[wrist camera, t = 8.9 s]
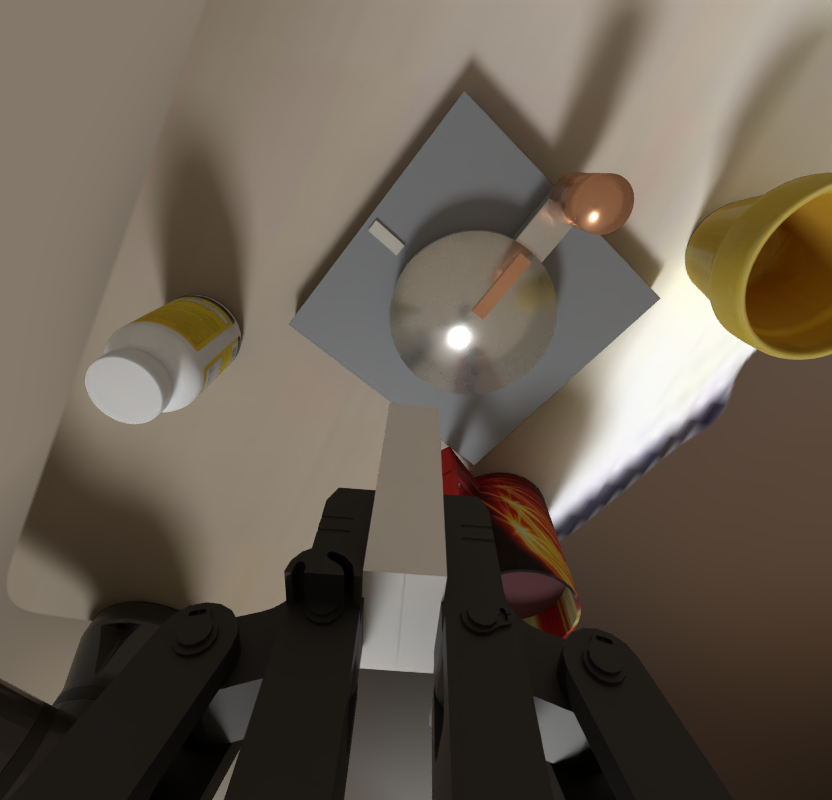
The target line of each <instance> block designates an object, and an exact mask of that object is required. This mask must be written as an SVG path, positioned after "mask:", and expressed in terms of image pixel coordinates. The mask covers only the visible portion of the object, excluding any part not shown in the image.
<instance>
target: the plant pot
mask: <svg viewBox="0 0 832 800" xmlns="http://www.w3.org/2000/svg"><path fill="white" fill-rule="evenodd" d="M685 265H686V270H687V273H688V276H689V278H690V279H691V281H692V282H693V283H694V284H695V285H696V287H697V288H698V289H699V290H700V291H701V292H702V293H703V294H704V295H705V296H706V297H707V298H708V299H709V300H710V302H711V305H712V308H713V311H714V313H715V315H716V317H717V319H718V320H719V322H720V323H721V324H722V326H723V327H724V328H725V329H726V330H727V331H729V332H730V333H731V334H733V335H734V336H736V337H737V338H739V339H740V340H742V341H743V342H745V343H747V344H749V345H750V346H752V347H754V348H756V349H758V350H760V351H762V352H764V353H766V354H769V355H771V356H775V357H779V358H785V359H796V360H798V359H813V358H818V357H823V356H827V355H830V354H832V173H823V174H814V175H809V176H804V177H800V178H797V179H794V180H792V181H789V182H786V183H784V184H782V185H780V186H778V187H776V188H774V189H773V190H771V191H769V192H768V193H766V194H765V195H762V196H758V197H754V198H750V199H745V200H741V201H738V202H734V203H731V204H728V205H726V206H723V207H721V208H719V209H718V210H716V211H714V212H713V213H712V214H710V215H709V216H708V217H707V218H706V219H705V220H704V221H703V222H702V223H701V224H700V225H699V226H698V228H697V229H696V230H695V232H694V233H693V235H692V237H691V239H690V241H689V244H688V246H687V250H686V256H685Z"/></svg>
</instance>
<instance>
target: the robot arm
mask: <svg viewBox="0 0 832 800" xmlns="http://www.w3.org/2000/svg"><path fill="white" fill-rule="evenodd" d="M284 572H285V587H286V601H285V602H284V603H282V604H280V605H278V606H276V607H274V608H272V609H269V610H266V611H262V612H258V613H253V614H249V615H244V616H240V617H235V615H234V613H233V612H232V610H230V609H229V608H227V607H225V606H223V605H222V604H216V603H207V602H206V603H201V604H196V605H191V606H189V607H187V608H185V609H183V610H181V611H179V612H178V611H175V610H173V609H170V608H167V607H164V606H160V605H156V604H151V603H141V602H130V603H121V604H117V605H113V606H111V607H108V608H106V609H104V610H103V611H101V612H100V613H99V614H98V615H97V616H96V617H95V618H94V620H93V621H92V622H91V624H90V625H89V627H88V628H87V629H86V631H85V632H84V634H83V635H82V637H81V639H80V642H79V645H78V648H77V651H76V654H75V657H74V659H73V662H72V665H71V668H70V671H69V674H68V677H67V680H66V682H65V685H64V688H63V690H62V692H61V693H60V695H59V696H58V698H57V699H56V701H55V702H54V704H53V705H52V706H51V705H49V704H47V703H45V702H44V701H42V700H40V699H38V698H37V697H35V696H33V695H31V694H29V693H27V692H25V691H23V690H21V689H19V688H18V687H16V686H14V685H12V684H10V683H8V682H6V681H4V680H2V679H1V678H0V800H212V799H213V797H214V795H215V794H216V792H217V790H218V788H219V786H220V784H221V783H222V781H223V779H224V777H225V775H226V773H227V772H228V770H229V768H230V766H231V764H232V762H233V760H234V759H235V757H236V755H237V753H238V752H239V750H240V752H239V755H238V758H237V761H236V764H235V768H234V771H233V774H232V777H231V780H230V783H229V786H228V789H227V792H226V795H225V798H224V800H344V796H345V788H346V781H347V773H348V765H349V758H350V749H351V742H352V734H353V726H354V719H355V711H356V703H357V690H358V677H359V669H360V668H366V669H379V670H394V671H408V672H422V673H433V669H434V691H433V698H432V704H431V712H430V718H429V724H428V726H432V800H734V799H733V797H732V796H731V794H730V793H729V792H728V790H727V789H726V787H725V785H724V784H723V783H722V781H721V780H720V778H719V777H718V775H717V774H716V772H715V771H714V769H713V768H712V766H711V765H710V763H709V762H708V760H707V759H706V757H705V756H704V754H703V753H702V751H701V750H700V748H699V747H698V746H697V744H696V743H695V741H694V740H693V738H692V737H691V735H690V734H689V732H688V731H687V729H686V728H685V726H684V725H683V723H682V722H681V720H680V719H679V717H678V716H677V714H676V713H675V712H674V710H673V708H672V707H671V706H670V704H669V703H668V701H667V700H666V698H665V697H664V695H663V694H662V692H661V691H660V689H659V688H658V686H657V685H656V683H655V682H654V680H653V679H652V677H651V676H650V674H649V673H648V672H647V670H646V669H645V667H644V666H643V664H642V663H641V661H640V660H639V658H638V657H637V656H636V654H635V653H634V652H633V651H632V650H631V649H630V648H629V647H628V645H627V644H625V643H624V642H622V641H621V640H620V639H618V638H617V637H615V636H614V635H612V634H610V633H607V632H604V631H602V630H599V629H590V628H582V629H579V630H577V631H574V632H572V633H571V634H570V635H569V637H568V638H567V639H563V638H561V637H558V636H555V635H552V634H550V633H547V632H544V631H542V630H539V629H537V628H535V627H533V626H531V625H529V624H528V623H526V622H525V621H524V620H522V619H521V618H520V617H519V616H518V615H517V614H516V613H515V612H514V610H513V608H512V607H511V606H510V605H509V604H508V602H507V600H506V597H505V594H504V589H503V584H502V578H501V573H500V567H499V562H498V556H497V551H496V545H495V543H494V535H493V530H492V524H491V518H490V513H489V510H488V509H487V508H486V506H485V505H484V504H483V502H482V501H481V500H480V498H479V497H473V496H460V495H447V494H443V483H442V463H441V443H440V423H439V407H429V406H416V405H403V404H391V403H390V405H389V412H388V418H387V424H386V430H385V436H384V443H383V449H382V455H381V461H380V468H379V474H378V480H377V486H376V490H363V489H350V488H338V489H337V490H336V491H335V492H334V493H333V494H332V495H331V496H330V497H329V498H328V499H327V501H326V504H325V507H324V510H323V514H322V519H321V520H320V523H319V527H318V532H317V533H316V537H315V540H314V543H313V546H312V548H311V549H309V550H306V551H303V552H301V553H300V554H299V555H297V556H296V557H295V558H293V559H292V560H291V561H290V563H289V565H288V566H287V568H286V569H285V571H284ZM240 748H241V749H240Z"/></svg>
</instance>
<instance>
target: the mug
mask: <svg viewBox="0 0 832 800" xmlns="http://www.w3.org/2000/svg"><path fill="white" fill-rule="evenodd" d="M441 463H442V479H443V494H447V495H460V496H473V497H479V498H480V500H481V501H482V502H483V504H484V505H485V506H486V508H487V509H488V510H489V513H490V518H491V524H492V530H493V535H494V543H495V545H496V551H497V556H498V562H499V567H500V573H501V578H502V584H503V589H504V594H505V597H506V600H507V602H508V604H509V605H510V606H511V607H512V608H513V610H514V612H515V613H516V614H517V615H518V616H519V617H520V618H521V619H522V620H524V621H525V622H526V623H528V624H529V625H531V626H533V627H535V628H537V629H539V630H542V631H544V632H547V633H550V634H552V635H555V636H558V637H561V638H563V639H565V638H566V637H567V636H568V635H569V634H570V633H571V632H572V631H573V630H574V628H575V627H576V625H577V623H578V621H579V618H580V614H581V604H580V601H579V598H578V595H577V592H576V589H575V587H574V584H573V581H572V578H571V575H570V572H569V569H568V567H567V564H566V561H565V558H564V555H563V552H562V549H561V546H560V544H559V541H558V538H557V535H556V532H555V529H554V526H553V524H552V521H551V518H550V515H549V512H548V509H547V507H546V504H545V501H544V498H543V495H542V494H541V492H540V490H539V489H538V488H537V487H536V486H535V485H534V484H533V483H532V482H530V481H529V480H527V479H526V478H523V477H521V476H518V475H515V474H510V473H490V474H485V475H482V476H478V477H476V478H474V477H473V476H472V475H471V473H470V472H469V471H468V470H467V468H466V467H465V466H464V465H463V463H462V462H461V461H460V460H459V458H458V457H457V456H456V455H455V453H454V452H453V450H452V449H451V447H447V448H445V449H443V450H442V451H441ZM458 482H459V483H460V485H461V486H462V487H461V488H460V489H459V487H458Z"/></svg>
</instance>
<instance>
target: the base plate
mask: <svg viewBox="0 0 832 800" xmlns="http://www.w3.org/2000/svg"><path fill="white" fill-rule="evenodd" d="M553 186H554V185H553V184H552V183H551V182H550V181H549V180H548V179H547V178H546V177H545V176H544V175H543V173H542V172H541V171H540V170H539V169H538V168H537V167H536V166H535V165H534V164H533V163H532V162H531V161H530V160H529V159H528V158H527V157H526V155H525V154H524V153H523V152H522V151H521V150H520V149H519V148H518V147H517V146H516V145H515V144H514V143H513V142H512V141H511V140H510V139H509V137H508V136H507V135H506V134H505V133H504V132H503V131H502V130H501V129H500V128H499V127H498V126H497V125H496V124H495V123H494V122H493V121H492V119H491V118H490V117H489V116H488V115H487V114H486V113H485V112H484V111H483V110H482V109H481V108H480V107H479V106H478V105H477V104H476V103H475V101H474V100H473V99H472V98H471V97H470V96H469V95H468V94H467V93H466V92H465V91H464V92H463V93H462V95H461V96H460V97H459V99H458V100H457V101H456V103H455V104H454V105H453V107H452V108H451V109H450V111H449V112H448V113H447V115H446V116H445V117H444V119H443V120H442V121H441V123H440V124H439V125H438V127H437V128H436V129H435V131H434V132H433V133H432V135H431V136H430V137H429V139H428V140H427V141H426V143H425V144H424V145H423V147H422V148H421V149H420V150H419V152H418V153H417V154H416V156H415V157H414V158H413V160H412V161H411V162H410V164H409V165H408V166H407V168H406V169H405V170H404V172H403V173H402V174H401V176H400V177H399V178H398V180H397V181H396V182H395V184H394V185H393V186H392V188H391V189H390V190H389V192H388V193H387V194H386V196H385V197H384V198H383V200H382V201H381V202H380V204H379V205H378V206H377V207H376V209H375V210H374V211H373V213H372V214H371V215H370V217H369V218H368V219H367V221H366V222H365V223H364V225H363V226H362V227H361V229H360V230H359V231H358V233H357V234H356V235H355V237H354V238H353V239H352V241H351V242H350V243H349V245H348V246H347V247H346V249H345V250H344V251H343V253H342V254H341V255H340V257H339V258H338V259H337V261H336V262H335V263H334V265H333V266H332V267H331V268H330V270H329V271H328V272H327V274H326V275H325V276H324V278H323V279H322V280H321V282H320V283H319V284H318V286H317V287H316V288H315V290H314V291H313V292H312V294H311V295H310V296H309V298H308V299H307V300H306V302H305V303H304V304H303V306H302V307H301V308H300V310H299V311H298V312H297V314H296V315H295V316H294V318H293V319H292V320H291V322H290V323H289V325H290V326H291V327H293V328H294V329H295V330H297V331H298V332H299V333H301V334H302V335H303V336H305V337H306V338H307V339H309V340H310V341H311V342H313V343H314V344H315V345H316V346H318V347H319V348H320V349H322V350H323V351H324V352H326V353H327V354H328V355H330V356H331V357H332V358H334V359H335V360H336V361H338V362H339V363H340V364H341V365H343V366H344V367H345V368H347V369H348V370H349V371H351V372H352V373H353V374H355V375H356V376H357V377H359V378H360V379H361V380H363V381H364V382H365V383H366V384H368V385H369V386H370V387H372V388H373V389H374V390H376V391H377V392H378V393H380V394H381V395H382V396H384V397H385V398H386V399H388V400H389V401H390V402H392V403H393V404H403V405H416V406H429V407H439V423H440V440H442V441H443V442H444V443H445V444H447V445H448V446H449V447H451V448H452V449H453V450H455V451H456V452H457V453H459V454H460V455H461V456H463V457H464V458H465V459H467V460H468V461H469V462H470V463H472V464H473V465H475V464H476V463H477V462H479V461H480V460H481V459H482V458H483V457H484V456H485V455H486V454H487V453H489V452H490V451H491V450H492V449H493V448H494V447H495V446H496V445H498V444H499V443H500V442H501V441H502V440H503V439H504V438H505V437H506V436H508V435H509V434H510V433H511V432H512V431H513V430H514V429H515V428H516V427H518V426H519V425H520V424H521V423H522V422H523V421H524V420H525V419H526V418H528V417H529V416H530V415H531V414H532V413H533V412H534V411H535V410H537V409H538V408H539V407H540V406H541V405H542V404H543V403H544V402H545V401H547V400H548V399H549V398H550V397H551V396H552V395H553V394H554V393H555V392H557V391H558V390H559V389H560V388H561V387H562V386H563V385H564V384H566V383H567V382H568V381H569V380H570V379H571V378H572V377H573V376H574V375H576V374H577V373H578V372H579V371H580V370H581V369H582V368H583V367H584V366H586V365H587V364H588V363H589V362H590V361H591V360H592V359H593V358H595V357H596V356H597V355H598V354H599V353H600V352H601V351H602V350H603V349H605V348H606V347H607V346H608V345H609V344H610V343H611V342H612V341H613V340H615V339H616V338H617V337H618V336H619V335H620V334H621V333H622V332H624V331H625V330H626V329H627V328H628V327H629V326H630V325H631V324H632V323H634V322H635V321H636V320H637V319H638V318H639V317H640V316H641V315H642V314H644V313H645V312H646V311H647V310H648V309H649V308H650V307H651V306H653V305H654V304H655V303H656V302H657V301H658V300H659V299H660V297H659V296H658V295H657V294H656V293H655V292H654V291H653V290H652V289H651V288H650V287H649V286H648V285H647V284H646V283H645V281H644V280H643V279H642V278H641V277H640V276H639V275H638V274H637V273H636V272H635V271H634V270H633V269H632V268H631V267H630V266H629V265H628V263H627V262H626V261H625V260H624V259H623V258H622V257H621V256H620V255H619V254H618V253H617V252H616V251H615V250H614V249H613V248H612V247H611V245H610V244H609V243H608V242H607V241H606V240H605V239H604V238H603V237H602V236H601V235H594V234H591V233H588V232H586V231H583V230H581V229H578V228H575V227H572V228H571V229H570V230H569V231H568V232H567V234H566V235H565V236H564V237H563V238H562V240H561V241H560V242H559V243H558V244H557V245H556V247H555V248H554V249H553V250H552V251H551V252H550V254H549V255H548V256H547V257H546V258H545V259H544V261H543V262H542V264H543V266H544V267H545V268H546V270H547V272H548V274H549V276H550V278H551V280H552V283H553V286H554V289H555V294H556V298H557V320H556V325H555V330H554V333H553V336H552V339H551V342H550V344H549V346H548V348H547V350H546V351H545V353H544V355H543V356H542V358H541V359H540V360H539V361H538V363H537V364H536V365H535V366H534V367H533V368H532V369H531V370H530V371H529V372H528V373H527V374H526V375H524V376H523V377H522V378H520V379H519V380H518V381H516V382H514V383H512V384H511V385H509V386H507V387H504V388H502V389H500V390H496V391H493V392H490V393H484V394H476V395H463V394H455V393H449V392H446V391H443V390H440V389H437V388H435V387H433V386H431V385H429V384H427V383H426V382H424V381H423V380H421V379H420V378H419V377H417V376H416V375H415V374H414V373H413V372H412V371H411V370H410V369H409V368H408V367H407V365H406V364H405V363H404V361H403V360H402V359H401V357H400V355H399V353H398V351H397V349H396V347H395V344H394V342H393V338H392V334H391V329H390V306H391V300H392V296H393V293H394V289H395V286H396V283H397V280H398V278H399V276H400V274H401V272H402V270H403V269H404V267H405V265H406V264H407V263H408V261H409V260H410V259H411V258H412V257H413V255H414V254H415V253H416V252H417V251H419V250H420V249H421V248H422V247H423V246H425V245H426V244H427V243H429V242H430V241H432V240H434V239H436V238H438V237H439V236H441V235H444V234H447V233H450V232H453V231H457V230H462V229H473V228H475V229H487V230H492V231H497V232H499V233H502V234H505V235H507V236H509V237H511V238H512V237H513V236H514V235H515V234H516V232H517V231H518V230H519V229H520V227H521V226H522V225H523V224H524V222H525V221H526V220H527V219H528V217H529V216H530V215H531V214H532V212H533V211H534V210H535V209H536V207H537V206H538V205H539V204H540V203H541V201H542V200H543V199H544V198H545V196H546V195H547V194H548V193H549V191H550V190H551V189H552V188H553Z"/></svg>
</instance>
